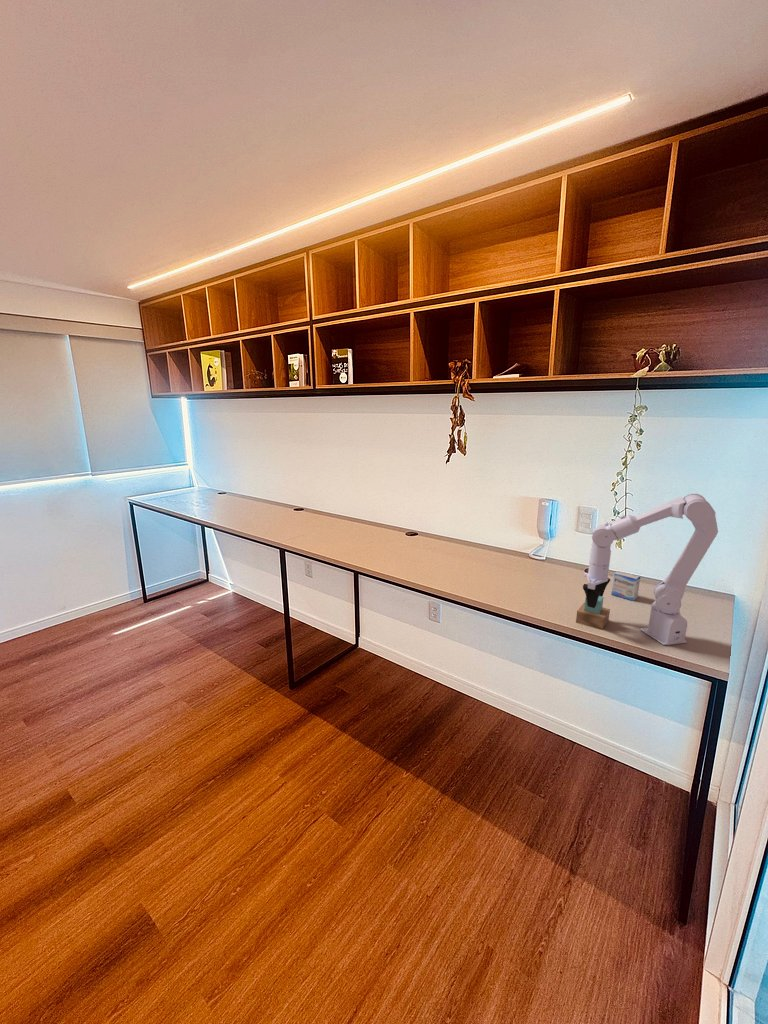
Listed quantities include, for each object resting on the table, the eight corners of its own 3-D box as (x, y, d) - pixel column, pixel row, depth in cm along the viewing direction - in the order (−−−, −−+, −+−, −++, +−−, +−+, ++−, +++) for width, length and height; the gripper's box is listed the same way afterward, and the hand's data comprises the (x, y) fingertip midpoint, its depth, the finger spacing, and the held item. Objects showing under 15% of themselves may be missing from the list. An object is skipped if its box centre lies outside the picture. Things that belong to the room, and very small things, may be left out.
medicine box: (610, 595, 163) (613, 573, 161) (614, 591, 166) (617, 570, 164) (633, 601, 157) (637, 579, 155) (637, 597, 160) (640, 575, 158)
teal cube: (602, 609, 142) (603, 596, 141) (598, 614, 139) (600, 601, 138) (587, 605, 145) (589, 593, 144) (584, 610, 142) (585, 597, 141)
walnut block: (608, 620, 143) (609, 609, 142) (602, 629, 137) (603, 618, 136) (582, 613, 148) (584, 602, 147) (575, 622, 142) (577, 611, 141)
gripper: (592, 554, 146) (587, 592, 149) (579, 566, 135) (574, 607, 138) (615, 559, 142) (610, 597, 145) (604, 572, 131) (598, 613, 134)
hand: (594, 602), depth 141 cm, fingers open, 7 cm apart
